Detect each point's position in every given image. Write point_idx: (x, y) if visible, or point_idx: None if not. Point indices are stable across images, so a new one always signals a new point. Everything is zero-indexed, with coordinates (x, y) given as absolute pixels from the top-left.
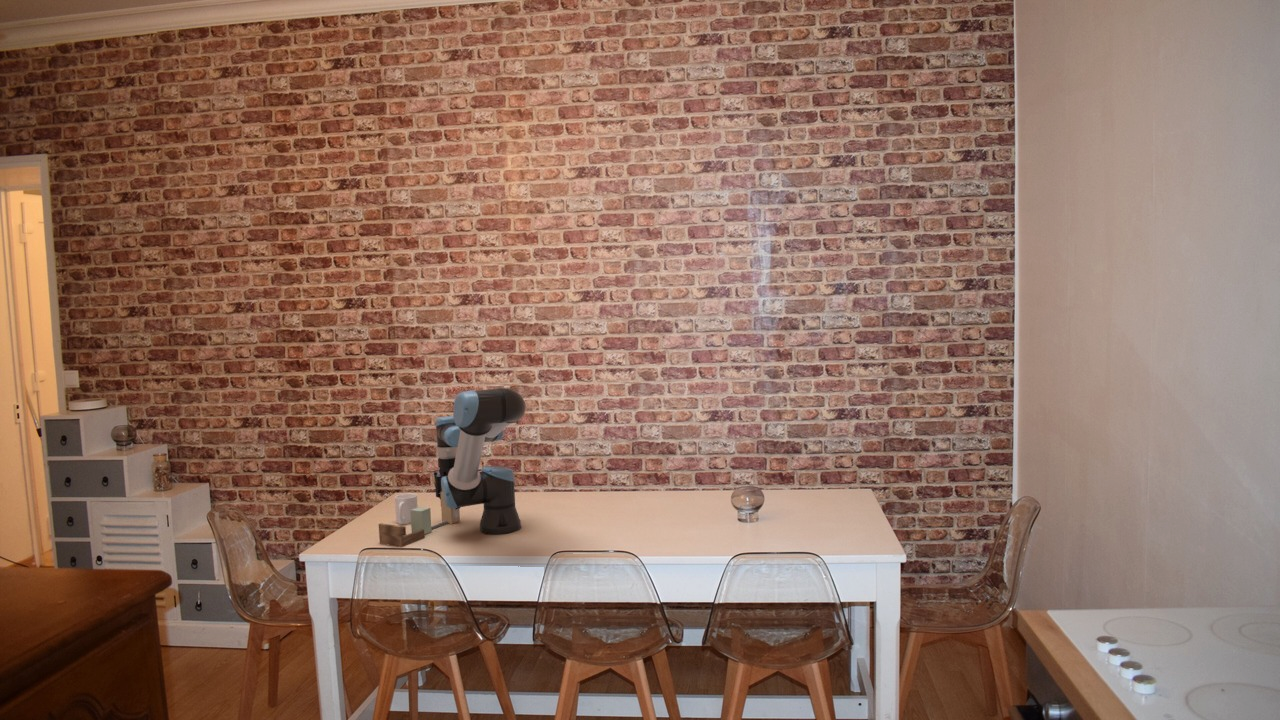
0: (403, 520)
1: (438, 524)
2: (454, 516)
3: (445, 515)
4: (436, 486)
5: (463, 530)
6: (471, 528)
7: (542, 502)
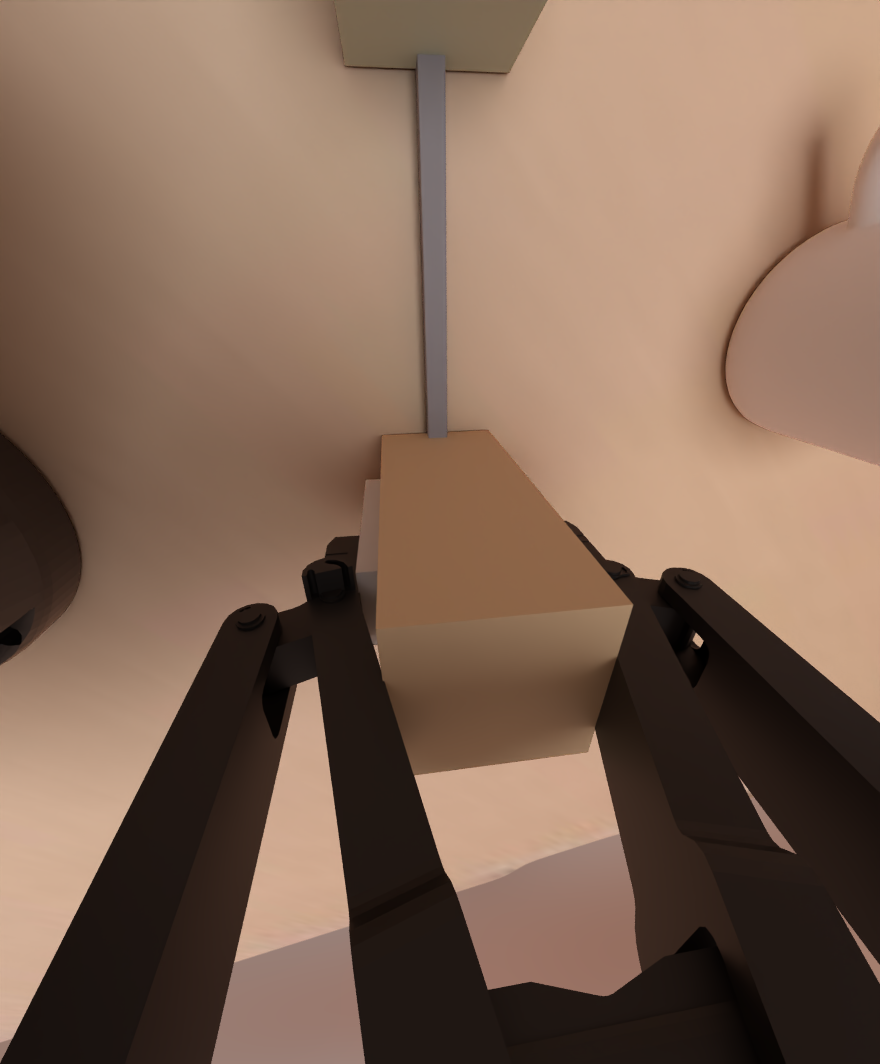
0: (855, 181)
1: (432, 312)
2: (371, 485)
3: (456, 453)
4: (828, 706)
5: (94, 318)
6: (101, 410)
7: (268, 869)
